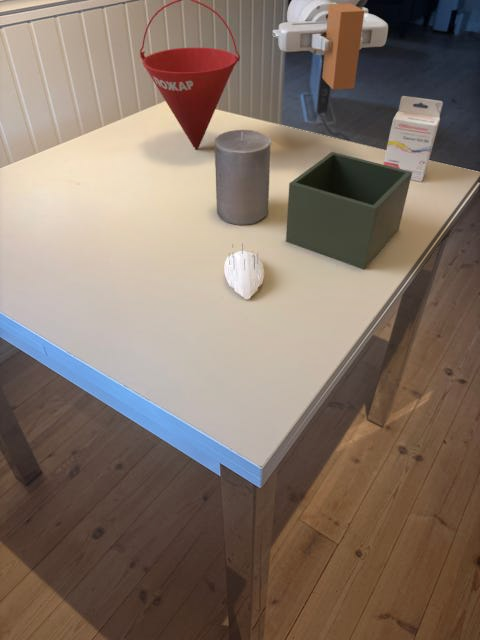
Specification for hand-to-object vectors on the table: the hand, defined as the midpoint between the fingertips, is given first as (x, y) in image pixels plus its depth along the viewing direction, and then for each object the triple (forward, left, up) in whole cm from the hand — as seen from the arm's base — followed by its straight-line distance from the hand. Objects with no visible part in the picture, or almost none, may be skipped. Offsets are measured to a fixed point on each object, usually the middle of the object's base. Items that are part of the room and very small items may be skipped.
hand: (343, 45), depth 85 cm
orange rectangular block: (0, -1, -7) cm, 7 cm away
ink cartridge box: (-16, +1, -25) cm, 30 cm away
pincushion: (+23, +31, -25) cm, 46 cm away
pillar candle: (+20, +11, -25) cm, 34 cm away
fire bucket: (+26, -20, -25) cm, 41 cm away
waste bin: (+4, +22, -25) cm, 33 cm away
